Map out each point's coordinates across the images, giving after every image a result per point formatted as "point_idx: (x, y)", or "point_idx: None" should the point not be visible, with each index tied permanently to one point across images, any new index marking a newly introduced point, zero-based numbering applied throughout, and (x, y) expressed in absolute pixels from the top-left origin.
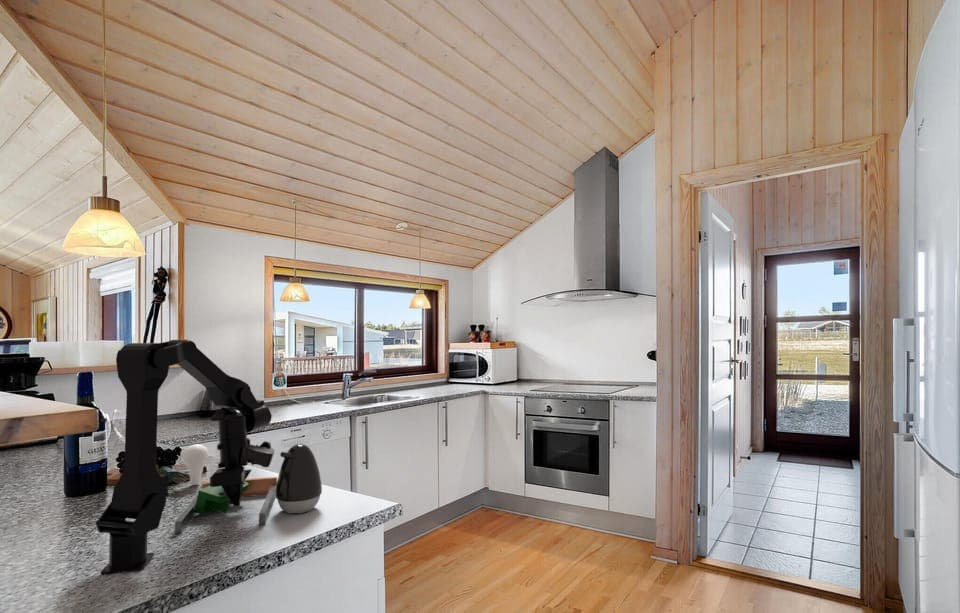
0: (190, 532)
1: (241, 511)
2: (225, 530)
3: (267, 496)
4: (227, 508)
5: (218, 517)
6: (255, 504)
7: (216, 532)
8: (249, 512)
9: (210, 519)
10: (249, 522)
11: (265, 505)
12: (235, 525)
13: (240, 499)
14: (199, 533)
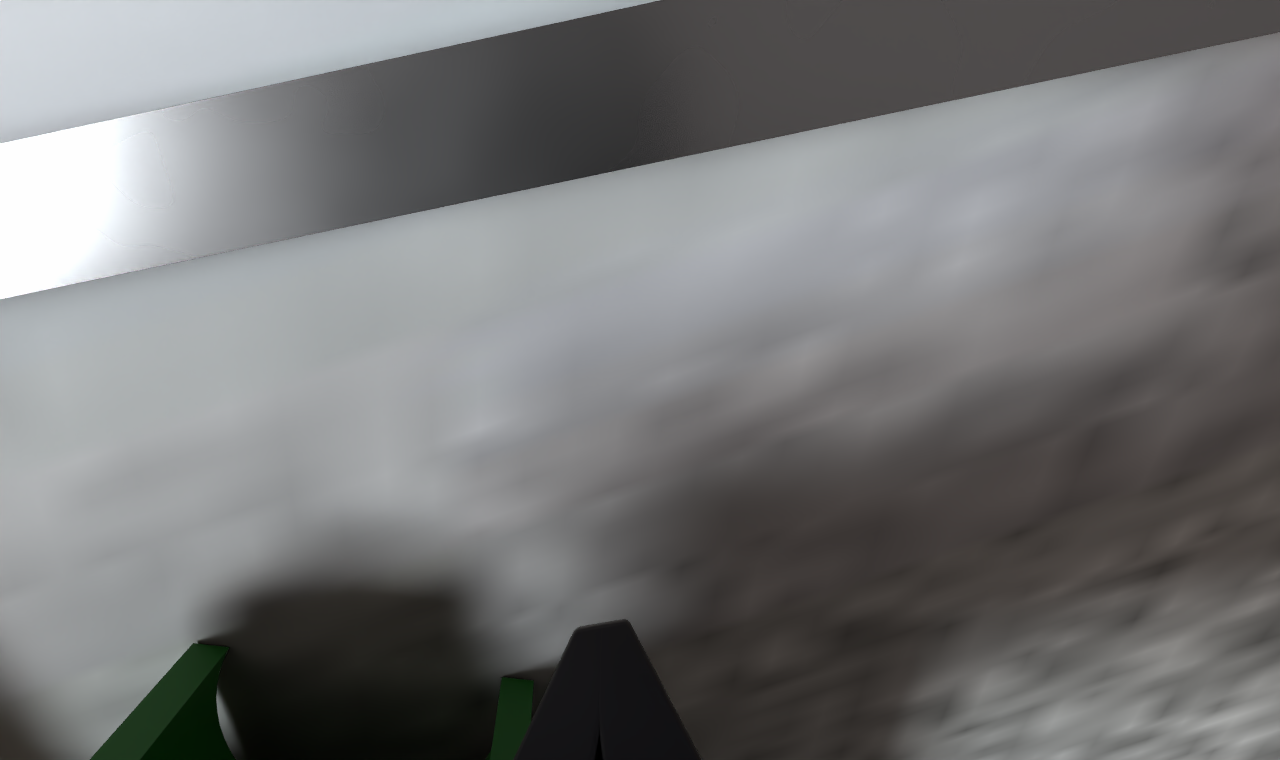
0: (1100, 750)
1: (450, 534)
2: (1201, 456)
3: (53, 261)
4: (504, 718)
5: (674, 693)
6: (96, 458)
7: (1226, 528)
8: (495, 412)
9: (732, 737)
10: (980, 245)
11: (823, 47)
12: (1047, 403)
13: (160, 709)
14: (1171, 671)
